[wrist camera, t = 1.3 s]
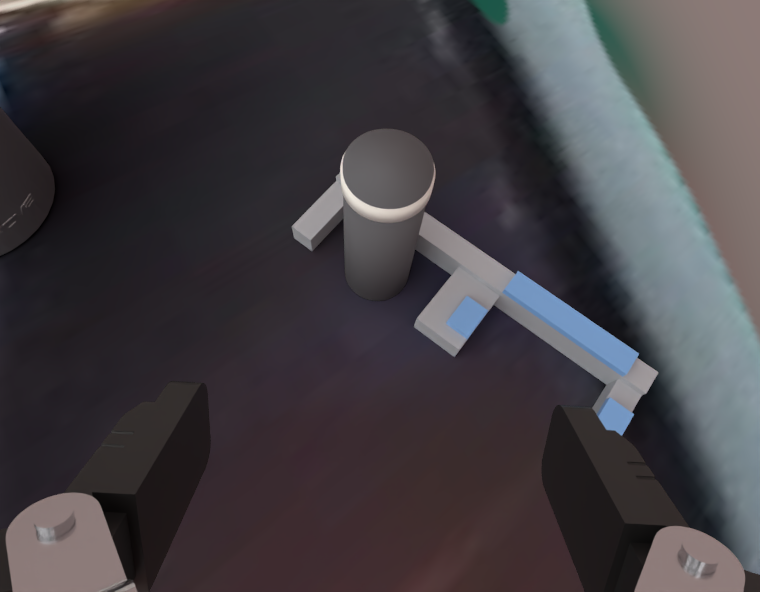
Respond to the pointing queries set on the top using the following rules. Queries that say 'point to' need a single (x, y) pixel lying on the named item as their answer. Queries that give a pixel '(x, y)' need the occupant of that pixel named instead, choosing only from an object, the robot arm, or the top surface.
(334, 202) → the grey blue frame
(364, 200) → the grey cylinder post
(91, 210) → the top surface
